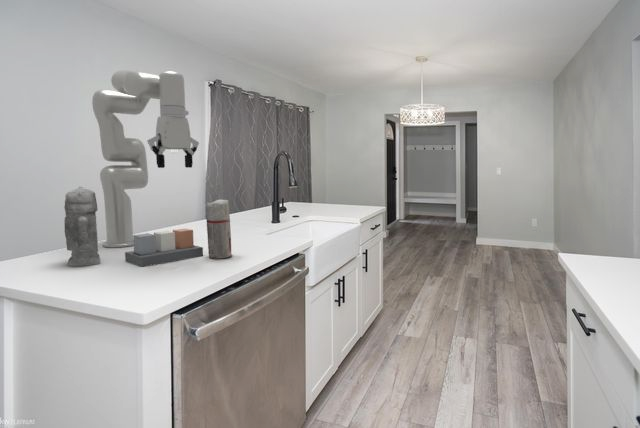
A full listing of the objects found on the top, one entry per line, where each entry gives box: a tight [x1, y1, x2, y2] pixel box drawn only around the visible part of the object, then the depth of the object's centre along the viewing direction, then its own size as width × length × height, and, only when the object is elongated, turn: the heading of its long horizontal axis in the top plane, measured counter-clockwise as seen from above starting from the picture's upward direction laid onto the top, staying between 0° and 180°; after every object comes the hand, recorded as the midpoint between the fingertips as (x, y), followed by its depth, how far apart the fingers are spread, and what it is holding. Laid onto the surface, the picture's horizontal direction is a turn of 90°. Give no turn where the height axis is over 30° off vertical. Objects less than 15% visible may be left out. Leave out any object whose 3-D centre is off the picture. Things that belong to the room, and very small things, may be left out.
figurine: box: [63, 186, 101, 267], centre depth 137 cm, size 10×14×25 cm
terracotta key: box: [172, 228, 194, 249], centre depth 149 cm, size 5×5×6 cm
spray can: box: [205, 199, 233, 260], centre depth 146 cm, size 8×8×20 cm
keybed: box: [124, 244, 204, 268], centre depth 145 cm, size 12×22×3 cm, turn 138°
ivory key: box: [153, 230, 175, 252], centre depth 144 cm, size 5×5×6 cm
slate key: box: [133, 232, 156, 255], centre depth 139 cm, size 5×5×6 cm
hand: (175, 167), depth 135 cm, fingers open, 9 cm apart
